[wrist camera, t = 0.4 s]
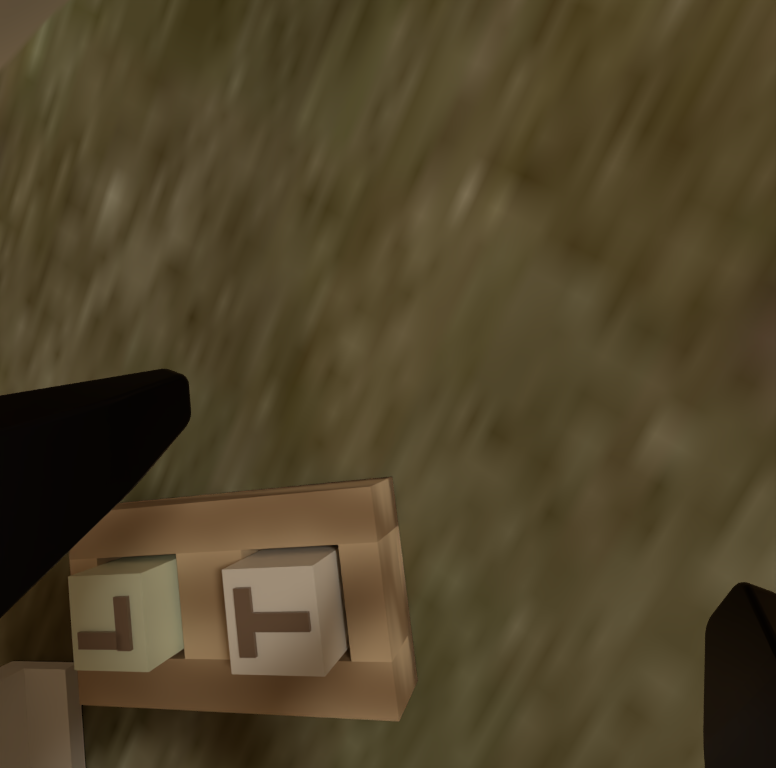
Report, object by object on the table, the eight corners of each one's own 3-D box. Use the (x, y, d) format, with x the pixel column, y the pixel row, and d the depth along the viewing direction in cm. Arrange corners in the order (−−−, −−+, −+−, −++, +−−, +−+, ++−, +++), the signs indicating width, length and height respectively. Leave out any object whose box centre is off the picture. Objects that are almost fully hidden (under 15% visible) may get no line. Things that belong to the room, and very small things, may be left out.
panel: (417, 680, 22) (399, 721, 19) (129, 673, 27) (79, 704, 24) (392, 476, 23) (370, 486, 20) (115, 503, 28) (66, 514, 25)
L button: (196, 639, 24) (145, 674, 21) (128, 639, 25) (70, 672, 22) (188, 553, 24) (137, 574, 21) (122, 557, 25) (64, 577, 22)
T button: (354, 640, 21) (323, 679, 18) (271, 640, 22) (229, 676, 19) (343, 544, 22) (311, 566, 19) (262, 549, 23) (219, 571, 20)
